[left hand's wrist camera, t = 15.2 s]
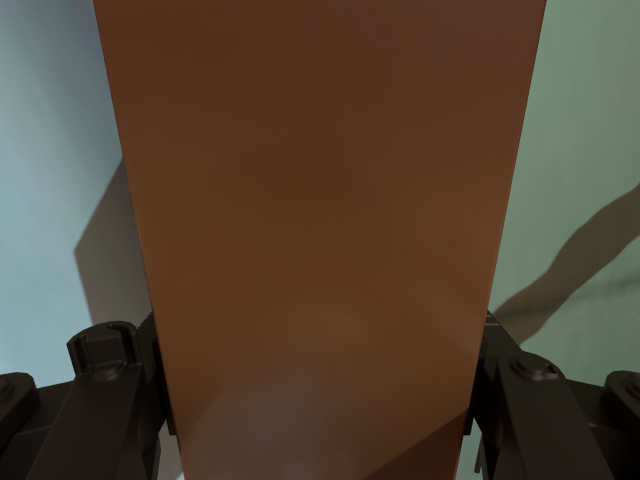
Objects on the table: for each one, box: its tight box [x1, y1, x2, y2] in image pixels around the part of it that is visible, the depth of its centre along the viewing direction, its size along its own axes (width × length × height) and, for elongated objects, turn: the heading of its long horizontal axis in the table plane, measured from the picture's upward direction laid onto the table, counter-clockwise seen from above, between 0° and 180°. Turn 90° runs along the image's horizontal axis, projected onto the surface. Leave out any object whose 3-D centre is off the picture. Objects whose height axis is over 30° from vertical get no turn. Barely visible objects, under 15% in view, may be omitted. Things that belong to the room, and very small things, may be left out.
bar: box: [93, 0, 547, 480], centre depth 8 cm, size 23×6×8 cm, turn 0°
